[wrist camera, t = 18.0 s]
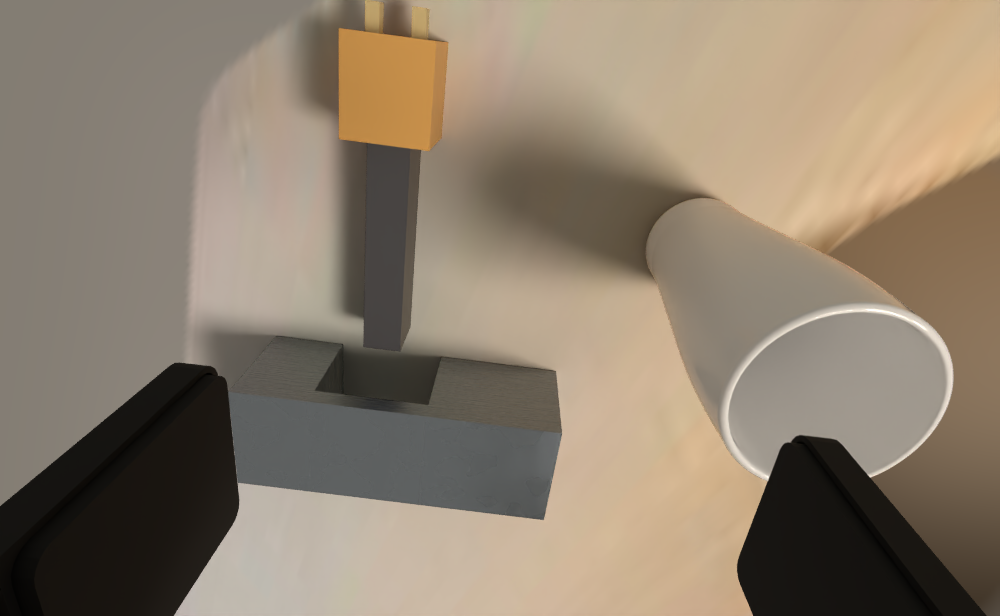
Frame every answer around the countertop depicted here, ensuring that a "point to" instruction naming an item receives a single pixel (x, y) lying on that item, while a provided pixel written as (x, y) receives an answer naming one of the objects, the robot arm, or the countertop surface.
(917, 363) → the drinking glass
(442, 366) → the housing
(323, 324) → the countertop surface
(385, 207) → the plug
